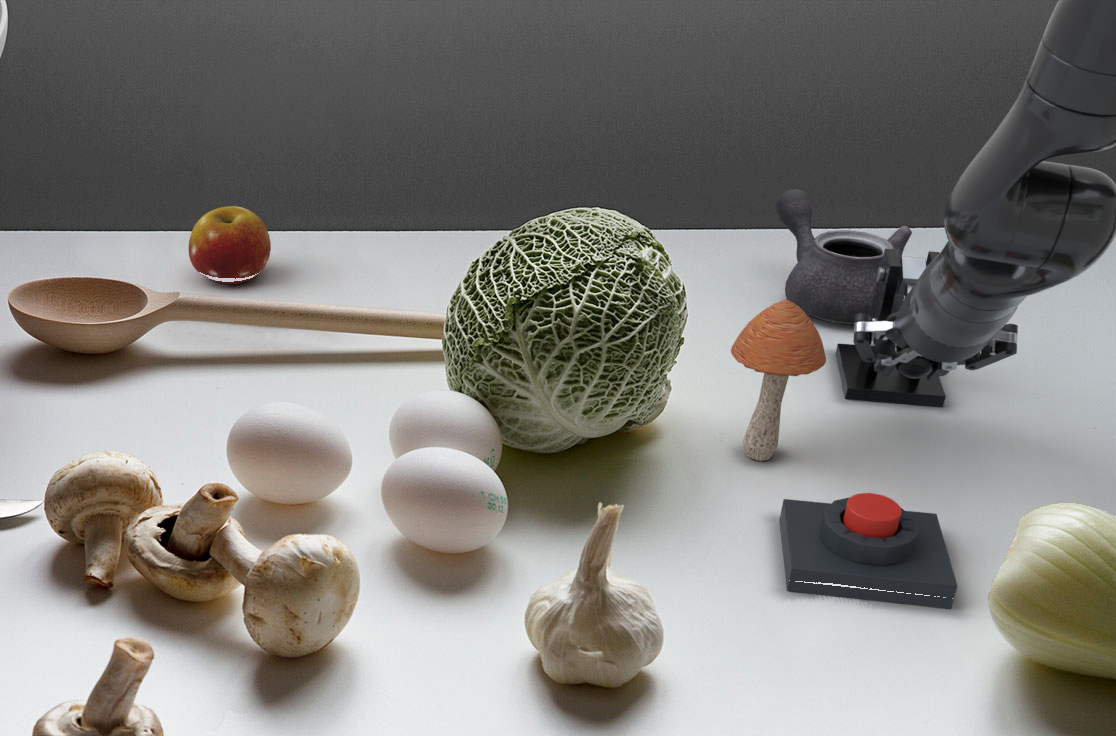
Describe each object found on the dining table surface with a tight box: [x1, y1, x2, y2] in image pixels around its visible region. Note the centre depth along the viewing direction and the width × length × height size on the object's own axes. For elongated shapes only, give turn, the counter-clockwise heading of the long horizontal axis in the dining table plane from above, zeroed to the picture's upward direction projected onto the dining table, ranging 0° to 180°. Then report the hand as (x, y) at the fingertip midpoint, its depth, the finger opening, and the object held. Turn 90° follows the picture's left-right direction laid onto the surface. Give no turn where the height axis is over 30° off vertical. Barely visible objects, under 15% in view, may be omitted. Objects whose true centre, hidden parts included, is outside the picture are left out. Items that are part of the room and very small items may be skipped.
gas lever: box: [896, 255, 936, 379], centre depth 120 cm, size 13×4×4 cm, turn 169°
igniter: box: [843, 492, 902, 538], centre depth 100 cm, size 4×4×2 cm
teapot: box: [775, 188, 913, 325], centre depth 143 cm, size 19×15×10 cm
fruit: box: [188, 205, 272, 285], centre depth 150 cm, size 10×9×8 cm
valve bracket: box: [835, 249, 947, 408], centre depth 125 cm, size 10×9×13 cm
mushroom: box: [730, 298, 827, 462], centre depth 113 cm, size 8×8×15 cm
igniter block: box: [778, 496, 958, 610], centre depth 102 cm, size 12×10×4 cm
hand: (907, 368), depth 120 cm, fingers closed on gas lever, 3 cm apart
